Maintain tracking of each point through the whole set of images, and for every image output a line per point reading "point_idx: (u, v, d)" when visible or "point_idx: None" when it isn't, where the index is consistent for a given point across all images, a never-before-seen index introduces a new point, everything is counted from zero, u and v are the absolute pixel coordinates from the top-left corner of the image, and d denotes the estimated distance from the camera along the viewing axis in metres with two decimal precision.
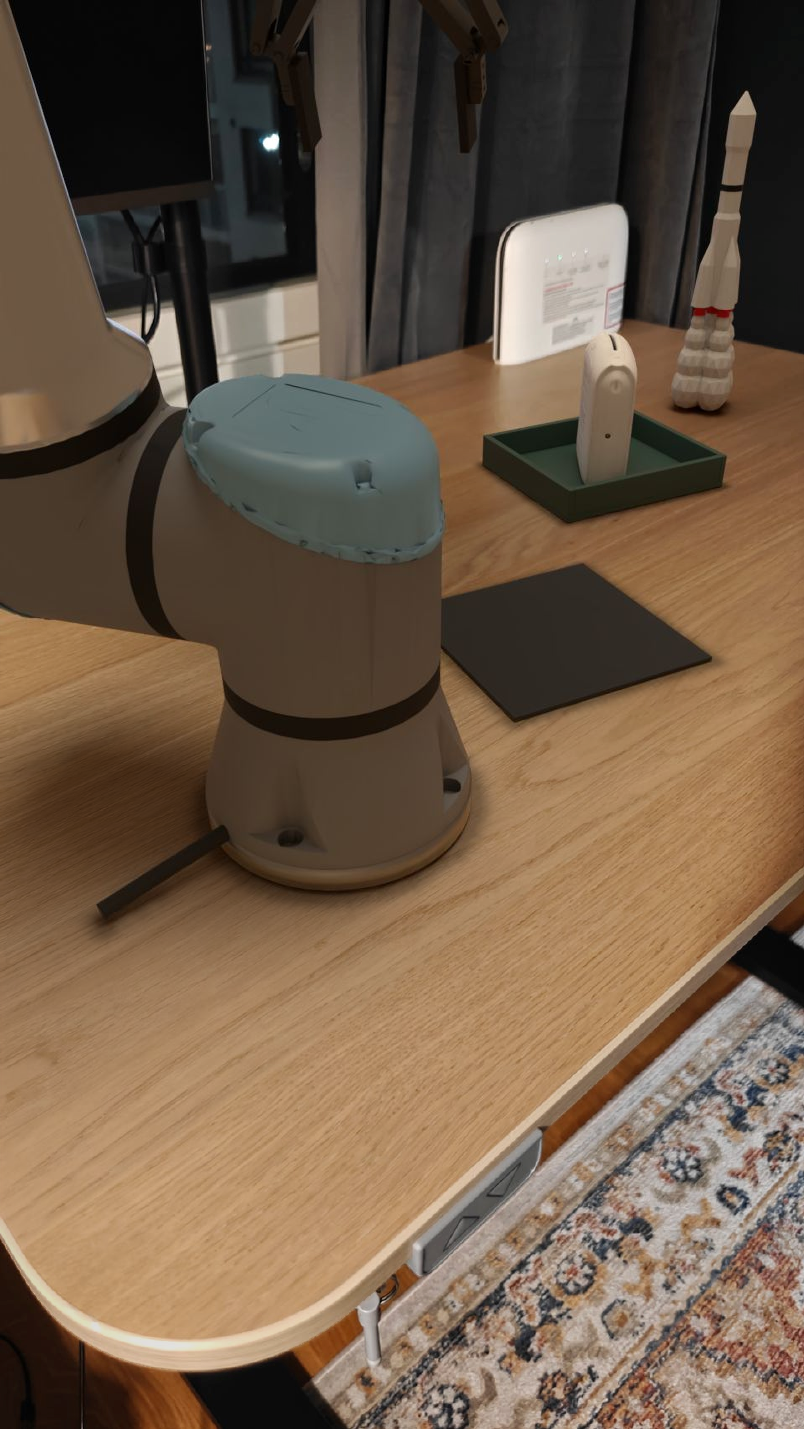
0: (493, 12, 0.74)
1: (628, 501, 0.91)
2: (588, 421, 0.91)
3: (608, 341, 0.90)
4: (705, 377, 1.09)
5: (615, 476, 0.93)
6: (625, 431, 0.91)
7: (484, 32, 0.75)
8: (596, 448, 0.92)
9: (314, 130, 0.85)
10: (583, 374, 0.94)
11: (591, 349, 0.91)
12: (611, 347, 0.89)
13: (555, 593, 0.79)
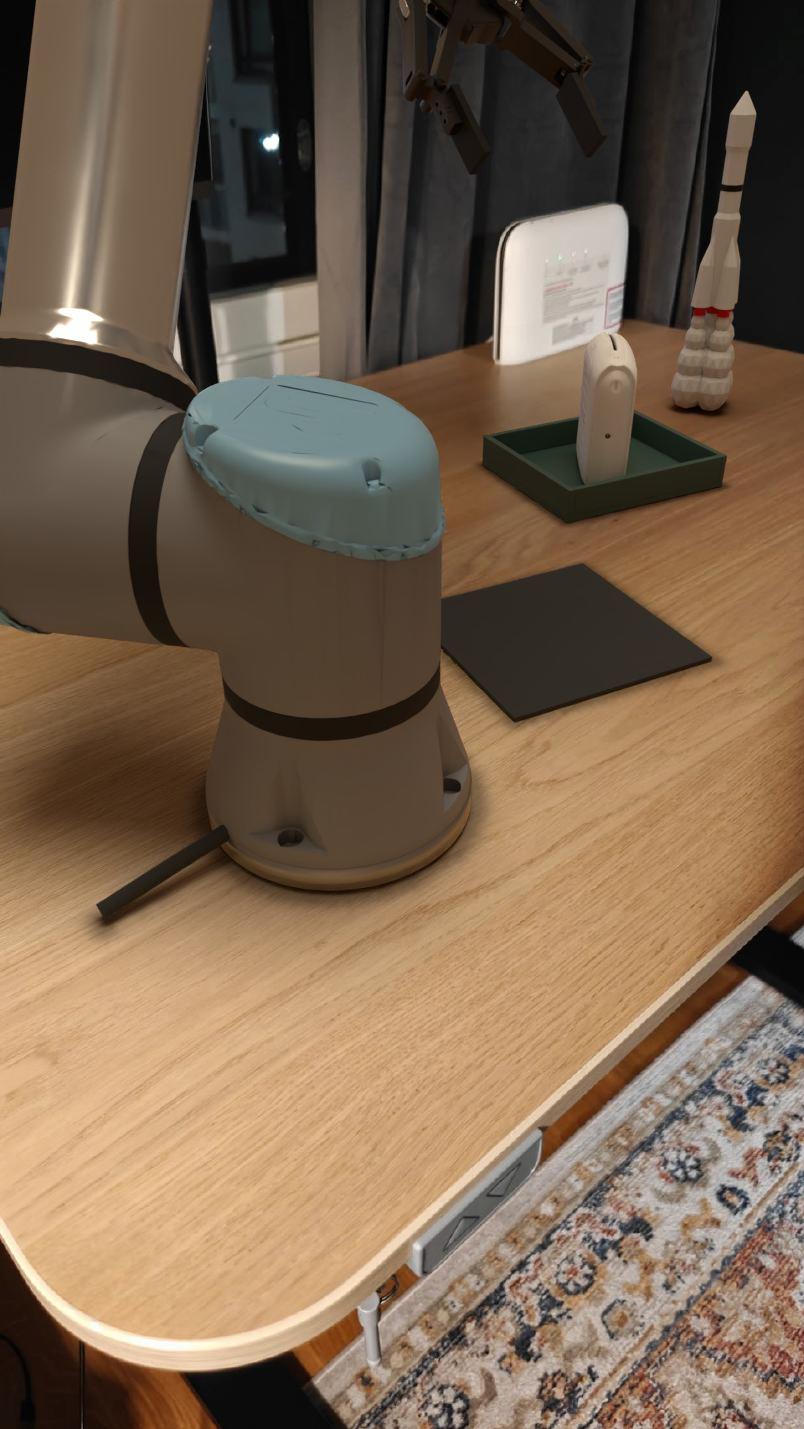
0: None
1: (628, 501, 0.91)
2: (588, 421, 0.91)
3: (608, 341, 0.90)
4: (705, 377, 1.09)
5: (615, 476, 0.93)
6: (625, 431, 0.91)
7: (580, 53, 0.93)
8: (596, 448, 0.92)
9: None
10: (583, 374, 0.94)
11: (591, 349, 0.91)
12: (611, 347, 0.89)
13: (555, 593, 0.79)
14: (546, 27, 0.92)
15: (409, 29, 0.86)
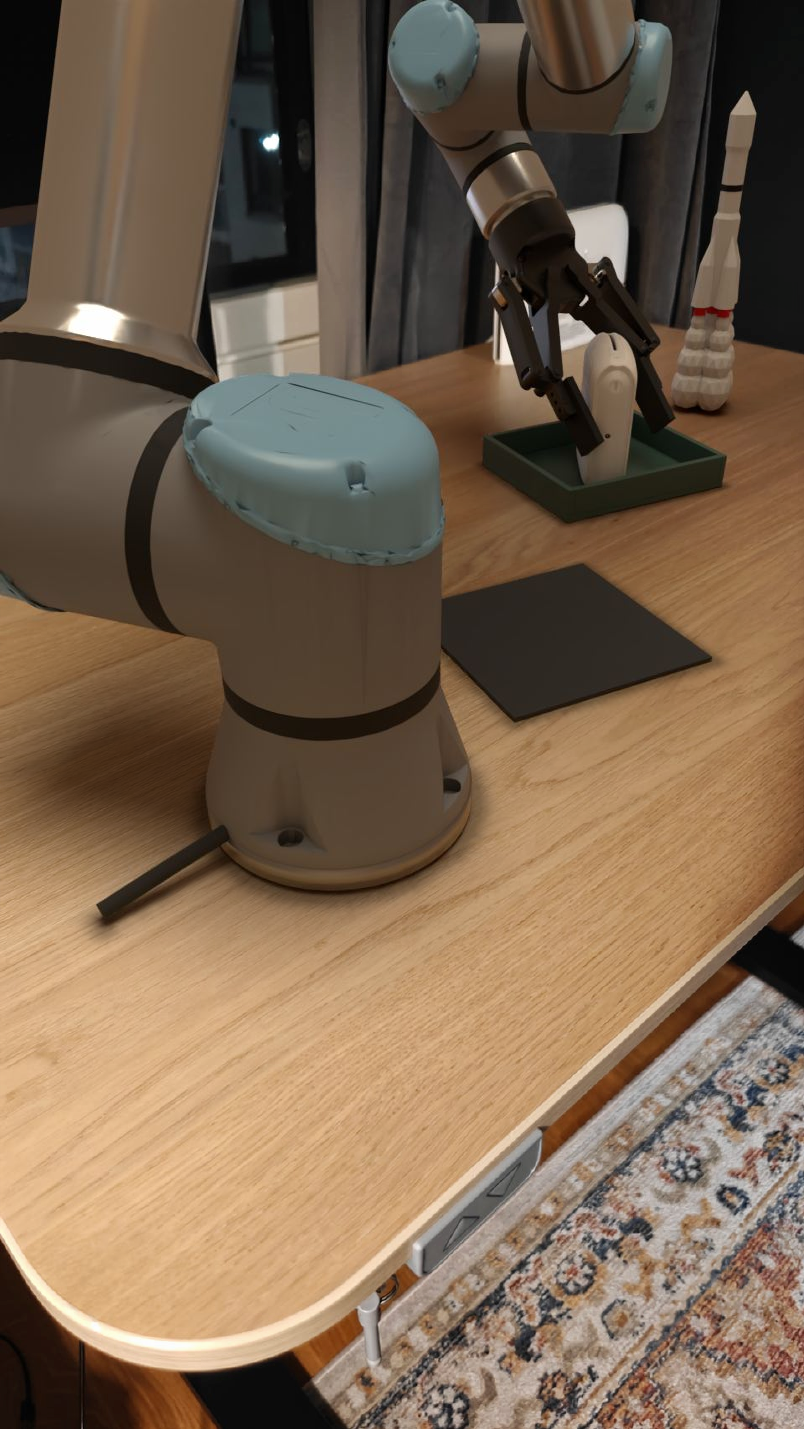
0: None
1: (628, 501, 0.91)
2: None
3: (608, 341, 0.90)
4: (705, 377, 1.09)
5: (615, 476, 0.93)
6: (625, 431, 0.91)
7: (648, 333, 0.96)
8: (596, 448, 0.92)
9: None
10: (583, 374, 0.94)
11: (591, 349, 0.91)
12: (611, 347, 0.89)
13: (555, 593, 0.79)
14: (620, 304, 0.96)
15: (512, 322, 0.90)
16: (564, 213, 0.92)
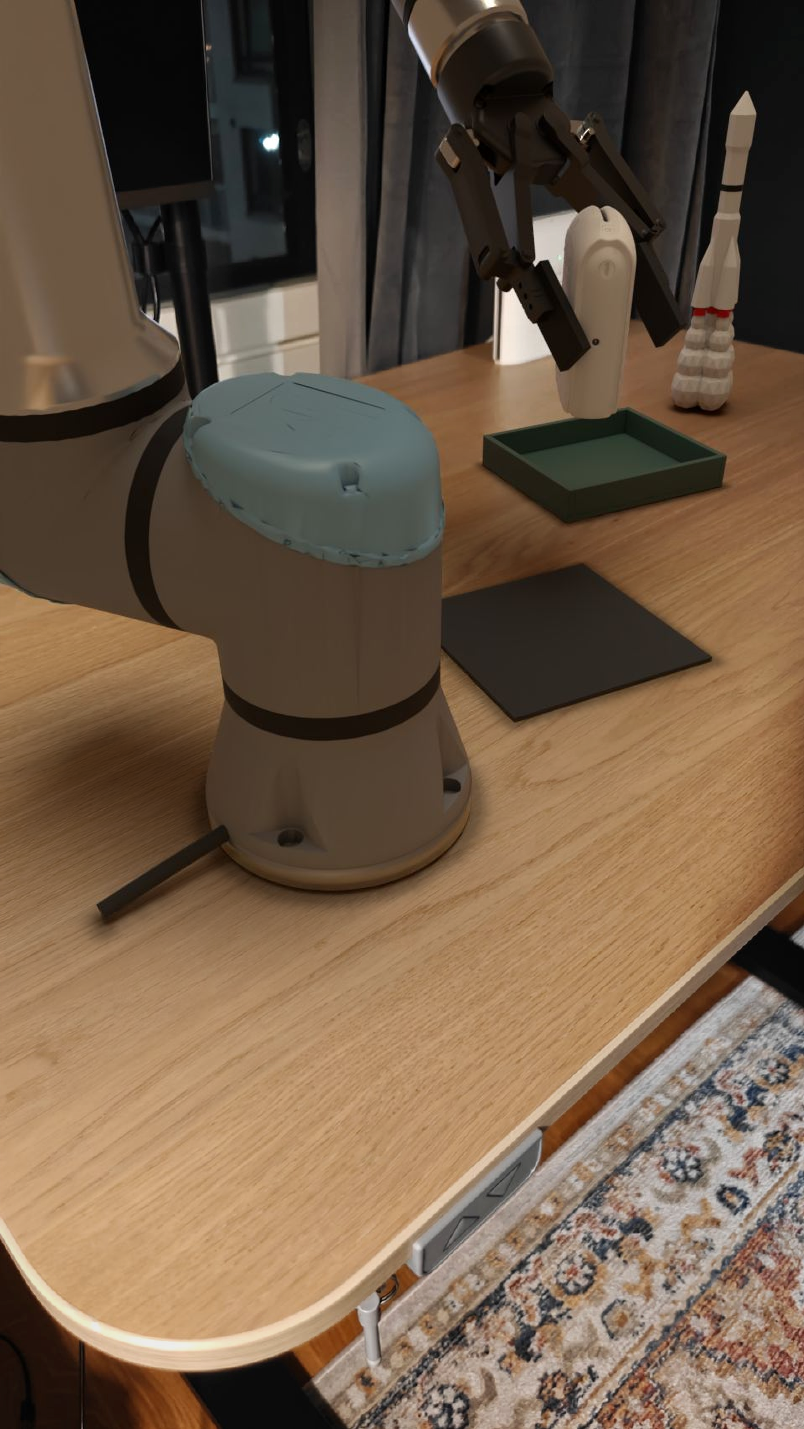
0: None
1: (628, 501, 0.91)
2: None
3: (597, 211, 0.66)
4: (705, 377, 1.09)
5: (606, 400, 0.69)
6: (619, 335, 0.67)
7: (650, 214, 0.72)
8: (580, 360, 0.68)
9: None
10: None
11: (573, 225, 0.67)
12: (600, 217, 0.65)
13: (555, 593, 0.79)
14: (613, 174, 0.72)
15: (466, 187, 0.66)
16: (538, 44, 0.68)
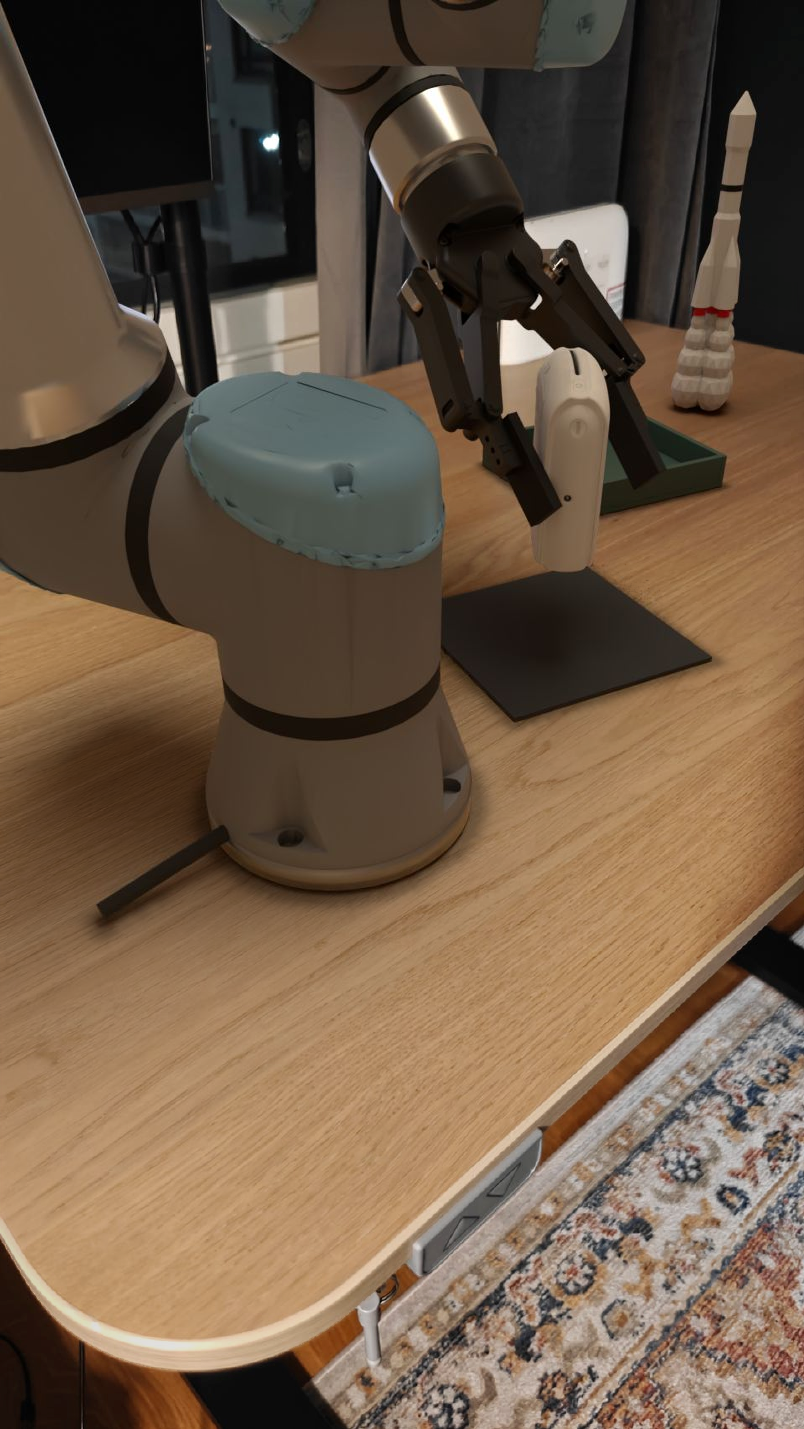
0: None
1: (628, 501, 0.91)
2: None
3: (568, 361, 0.62)
4: (705, 377, 1.09)
5: (579, 553, 0.65)
6: (592, 491, 0.63)
7: (628, 348, 0.68)
8: (552, 515, 0.64)
9: None
10: (535, 406, 0.67)
11: (544, 372, 0.63)
12: (571, 370, 0.61)
13: (555, 593, 0.79)
14: (588, 306, 0.68)
15: (429, 334, 0.62)
16: (506, 176, 0.64)
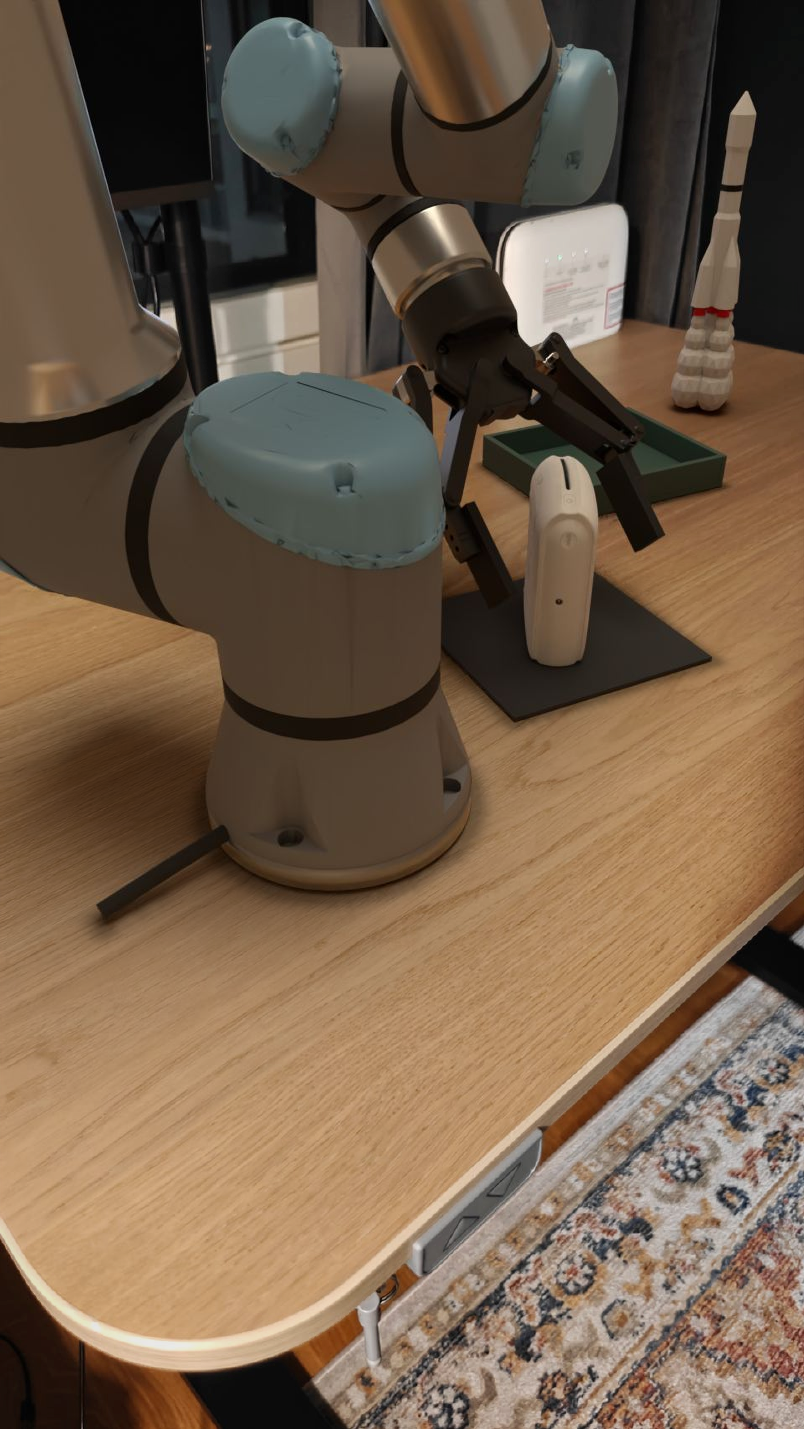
0: None
1: None
2: (533, 580, 0.67)
3: (560, 474, 0.66)
4: (705, 377, 1.09)
5: (570, 650, 0.69)
6: (582, 594, 0.67)
7: (628, 423, 0.73)
8: (544, 616, 0.68)
9: None
10: (529, 510, 0.71)
11: (537, 482, 0.68)
12: (562, 484, 0.65)
13: None
14: (585, 391, 0.72)
15: None
16: (501, 288, 0.68)
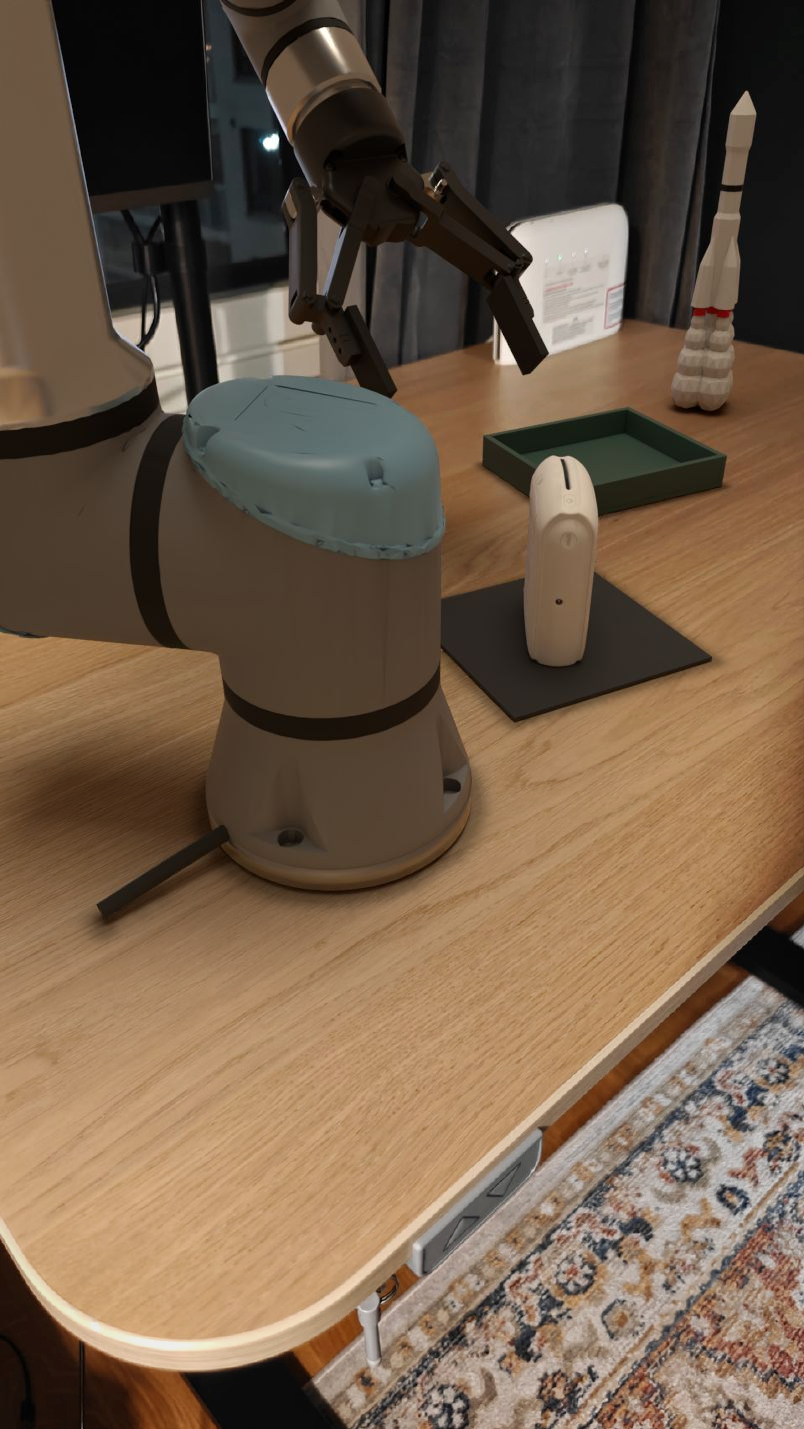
0: None
1: (628, 501, 0.91)
2: (533, 580, 0.67)
3: (560, 474, 0.66)
4: (705, 377, 1.09)
5: (570, 650, 0.69)
6: (582, 594, 0.67)
7: (515, 250, 0.76)
8: (544, 616, 0.68)
9: None
10: (529, 510, 0.71)
11: (537, 482, 0.68)
12: (562, 484, 0.65)
13: None
14: (473, 219, 0.75)
15: (295, 235, 0.69)
16: (386, 109, 0.71)
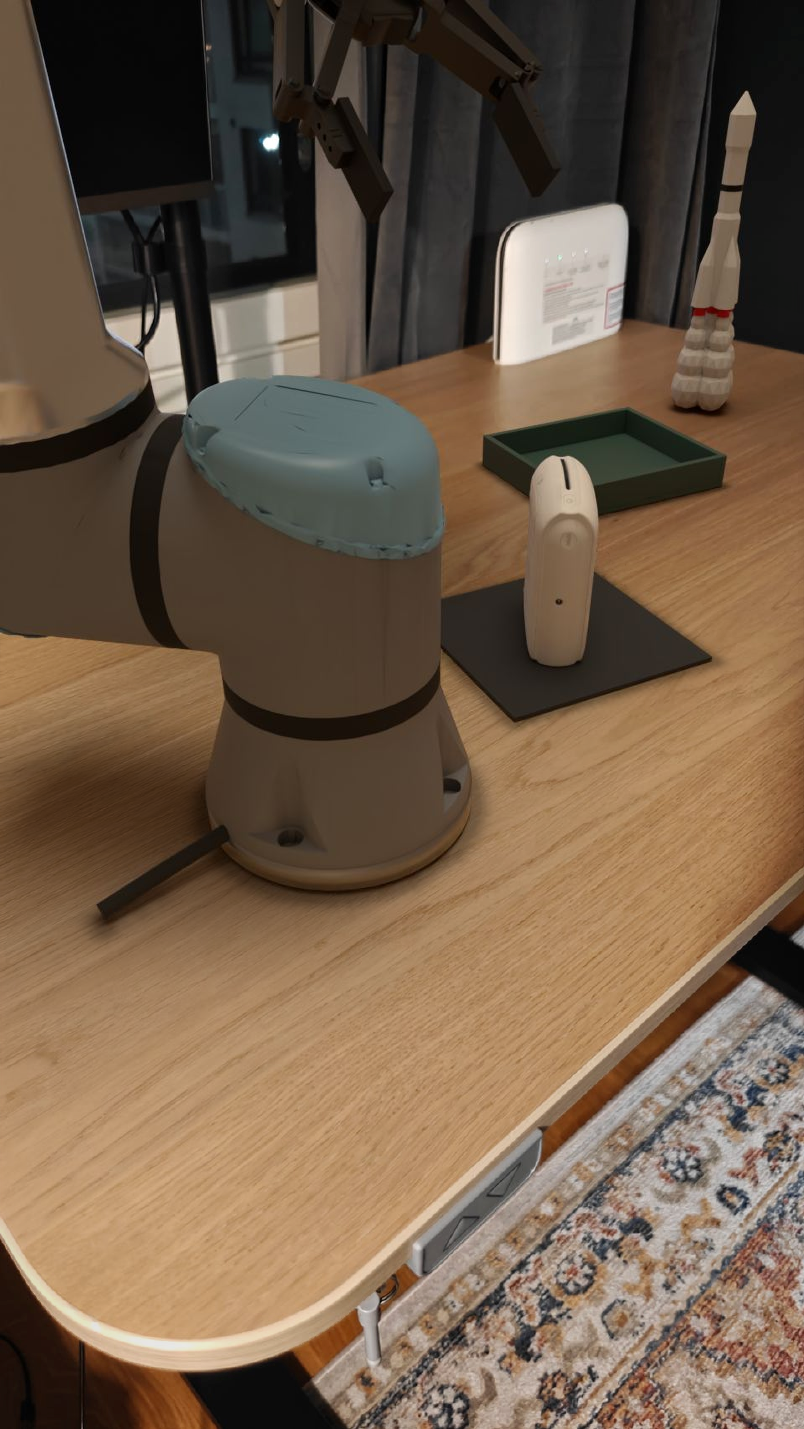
0: None
1: (628, 501, 0.91)
2: (533, 580, 0.67)
3: (560, 474, 0.66)
4: (705, 377, 1.09)
5: (570, 650, 0.69)
6: (582, 594, 0.67)
7: (524, 58, 0.69)
8: (544, 616, 0.68)
9: None
10: (529, 510, 0.71)
11: (537, 482, 0.68)
12: (562, 484, 0.65)
13: None
14: (477, 22, 0.68)
15: (280, 22, 0.62)
16: None
